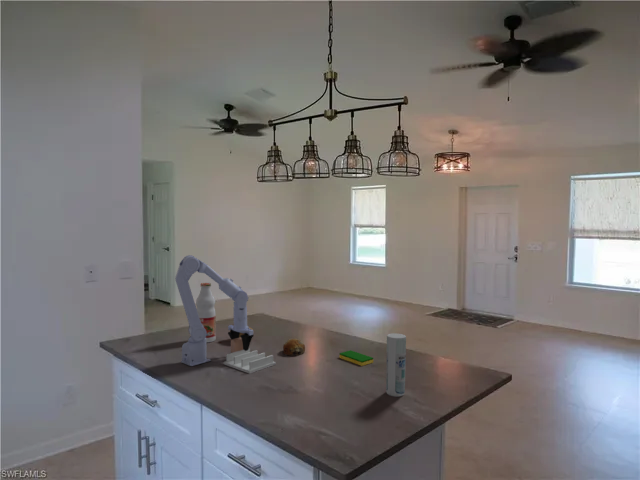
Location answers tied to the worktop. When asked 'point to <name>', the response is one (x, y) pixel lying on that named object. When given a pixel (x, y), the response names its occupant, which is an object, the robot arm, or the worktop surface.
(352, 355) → the dish sponge
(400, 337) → the spray can
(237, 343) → the tile
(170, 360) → the worktop surface
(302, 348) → the bread roll
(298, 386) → the worktop surface
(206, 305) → the fruit juice
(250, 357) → the dish rack
